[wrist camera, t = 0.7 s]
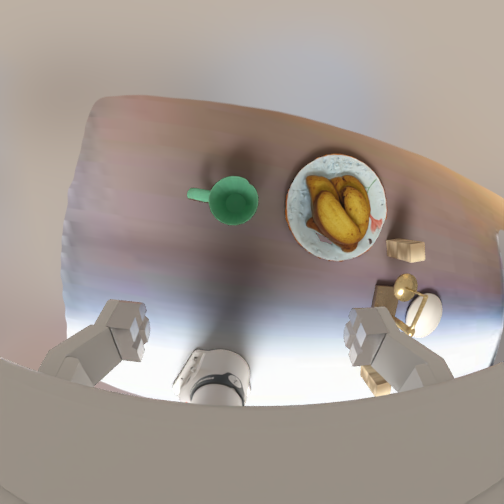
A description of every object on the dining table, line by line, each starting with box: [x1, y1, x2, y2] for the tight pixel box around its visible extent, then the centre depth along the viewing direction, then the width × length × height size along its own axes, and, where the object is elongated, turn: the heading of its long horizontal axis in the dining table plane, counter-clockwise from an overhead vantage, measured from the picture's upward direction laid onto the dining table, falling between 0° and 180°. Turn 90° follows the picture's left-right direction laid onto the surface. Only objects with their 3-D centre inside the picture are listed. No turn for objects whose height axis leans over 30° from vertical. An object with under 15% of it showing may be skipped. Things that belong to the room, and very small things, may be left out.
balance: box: [371, 274, 428, 337], centre depth 59 cm, size 24×7×19 cm, turn 173°
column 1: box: [361, 365, 391, 397], centre depth 64 cm, size 4×4×12 cm
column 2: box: [386, 239, 425, 263], centre depth 60 cm, size 4×4×12 cm
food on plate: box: [285, 154, 387, 262], centre depth 62 cm, size 25×25×7 cm
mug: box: [187, 176, 259, 225], centre depth 60 cm, size 15×10×10 cm
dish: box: [405, 293, 442, 338], centre depth 67 cm, size 13×13×2 cm
